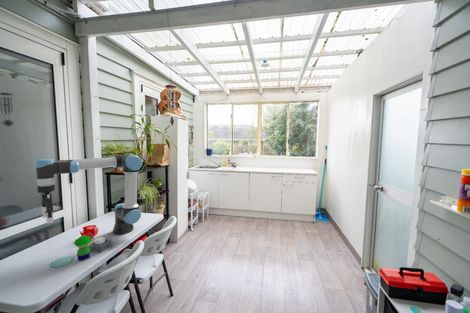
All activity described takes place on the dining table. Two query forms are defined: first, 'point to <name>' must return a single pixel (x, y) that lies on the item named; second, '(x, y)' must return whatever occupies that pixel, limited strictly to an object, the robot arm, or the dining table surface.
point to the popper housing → (100, 246)
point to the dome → (100, 241)
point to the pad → (62, 261)
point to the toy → (83, 247)
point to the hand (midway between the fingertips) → (47, 219)
